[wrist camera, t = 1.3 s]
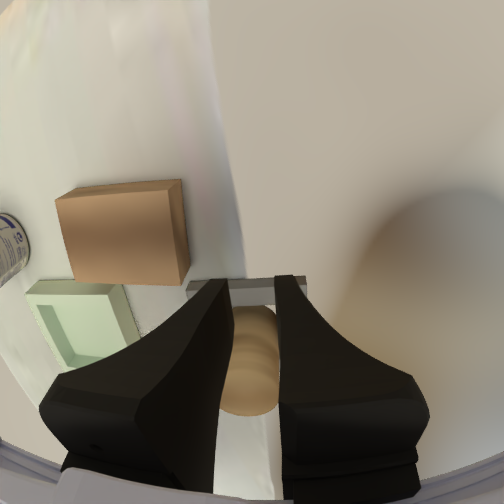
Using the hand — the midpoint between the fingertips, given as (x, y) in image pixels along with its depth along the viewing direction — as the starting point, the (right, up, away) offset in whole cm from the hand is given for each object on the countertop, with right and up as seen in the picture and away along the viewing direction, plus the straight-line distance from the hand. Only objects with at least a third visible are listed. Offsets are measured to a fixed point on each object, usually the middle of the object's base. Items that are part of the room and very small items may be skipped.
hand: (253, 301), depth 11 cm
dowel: (0, -4, +12) cm, 13 cm away
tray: (-14, -5, +14) cm, 20 cm away
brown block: (-8, +4, +10) cm, 13 cm away
